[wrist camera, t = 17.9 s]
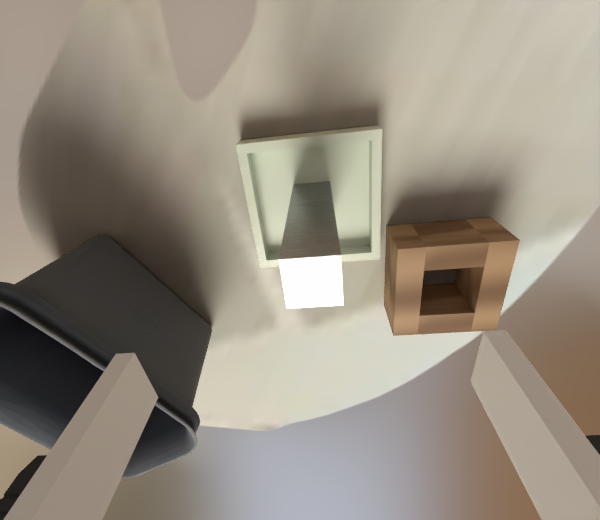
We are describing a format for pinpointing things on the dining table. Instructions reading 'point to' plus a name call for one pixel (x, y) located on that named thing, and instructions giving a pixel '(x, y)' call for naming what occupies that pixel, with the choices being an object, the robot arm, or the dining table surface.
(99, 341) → the storage bin
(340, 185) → the tray
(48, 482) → the robot arm
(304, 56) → the dining table surface
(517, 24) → the dining table surface
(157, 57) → the dining table surface
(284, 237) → the grey wooden beam
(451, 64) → the dining table surface
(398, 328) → the hollow wooden square
